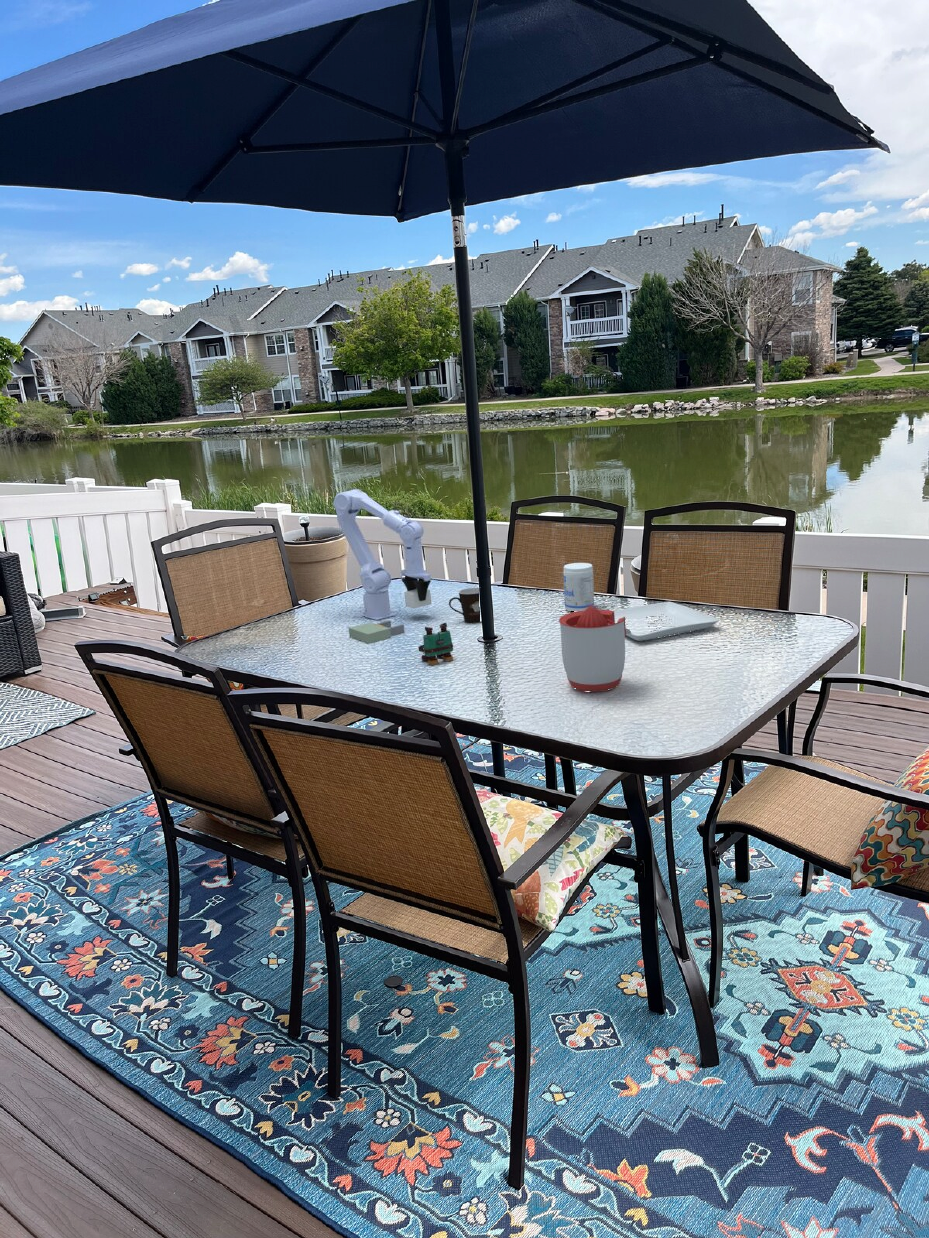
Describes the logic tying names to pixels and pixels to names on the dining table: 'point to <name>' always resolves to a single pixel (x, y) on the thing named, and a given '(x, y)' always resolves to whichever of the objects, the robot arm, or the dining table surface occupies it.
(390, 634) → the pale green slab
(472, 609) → the coffee mug
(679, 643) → the dining table surface
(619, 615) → the square plate
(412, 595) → the tall pale grey block
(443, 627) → the binoculars
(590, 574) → the supplement tub
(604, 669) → the citrus juicer
